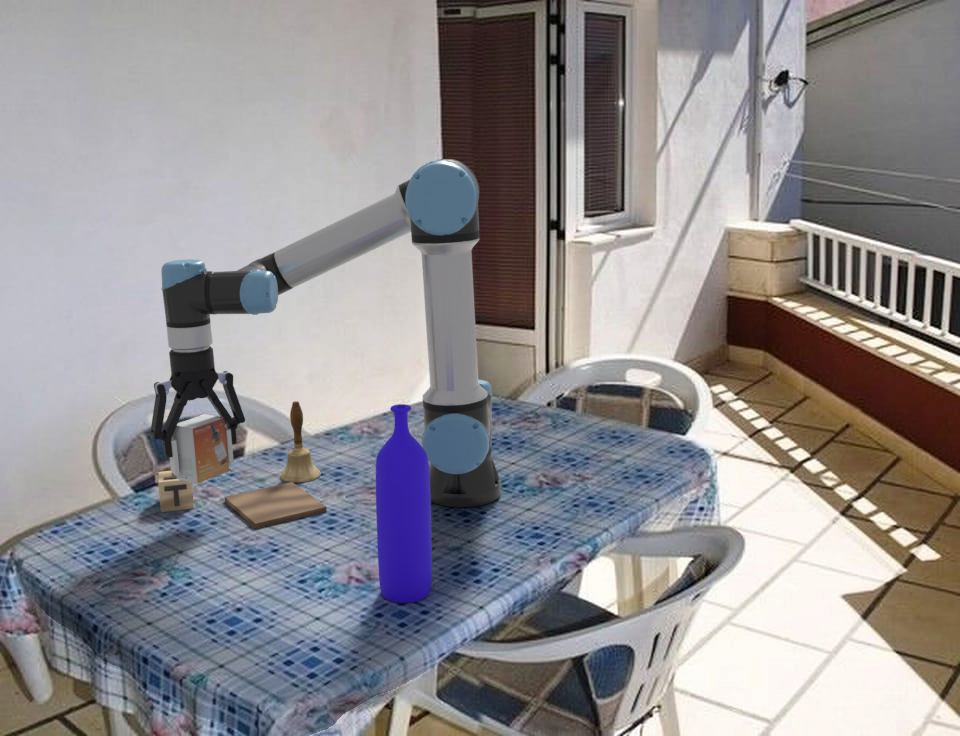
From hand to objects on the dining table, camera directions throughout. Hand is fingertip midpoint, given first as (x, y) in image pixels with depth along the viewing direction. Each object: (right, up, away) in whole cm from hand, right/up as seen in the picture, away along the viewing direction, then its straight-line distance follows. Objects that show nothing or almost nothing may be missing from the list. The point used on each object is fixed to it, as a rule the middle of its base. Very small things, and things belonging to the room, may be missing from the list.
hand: (202, 467), depth 177 cm
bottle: (+39, -17, -27) cm, 50 cm away
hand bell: (+13, -4, +24) cm, 28 cm away
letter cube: (-8, -8, +9) cm, 15 cm away
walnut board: (+12, -8, +8) cm, 16 cm away
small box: (0, -2, 0) cm, 2 cm away
